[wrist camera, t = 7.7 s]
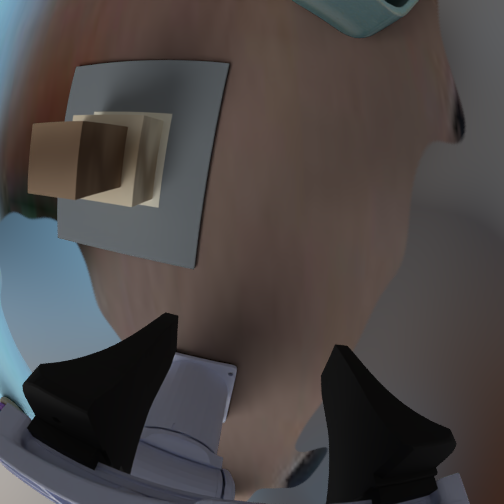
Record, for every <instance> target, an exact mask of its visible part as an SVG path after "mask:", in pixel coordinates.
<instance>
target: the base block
mask: <svg viewBox="0 0 504 504" xmlns="http://www.w3.org/2000/svg"><path fill="white" fill-rule="evenodd" d="M73 121H89V122H97V123H105V124H112V125H119V126H126V127H128V130H127V137H126V144H125V151H124V158H123V167H122V176H121V186H120V188H116V189H112V190H108V191H105V192H101V193H98V194H94V195H91V196H87V197H84V198H81V199H85V200H91V201H97V202H103V203H110V204H116V205H122V206H128V207H134V206H136V205H138V204H141V203H143V202H146V201H148V200H151V199H152V196H153V187H154V179H155V171H156V164H157V157H158V150H159V144H160V138H161V132H162V126H163V121H162V120H158V119H155V118H152V117H148V116H145V115H73Z"/></svg>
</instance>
